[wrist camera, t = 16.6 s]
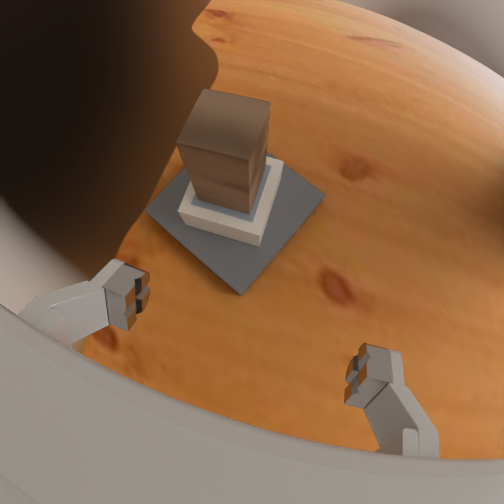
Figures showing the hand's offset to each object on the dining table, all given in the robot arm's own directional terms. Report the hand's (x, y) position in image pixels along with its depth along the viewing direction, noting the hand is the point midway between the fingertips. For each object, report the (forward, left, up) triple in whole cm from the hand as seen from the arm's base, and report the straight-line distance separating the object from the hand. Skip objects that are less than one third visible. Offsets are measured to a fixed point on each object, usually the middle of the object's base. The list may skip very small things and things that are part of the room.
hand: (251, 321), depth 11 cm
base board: (-9, -10, -22) cm, 25 cm away
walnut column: (-9, -10, -16) cm, 21 cm away
